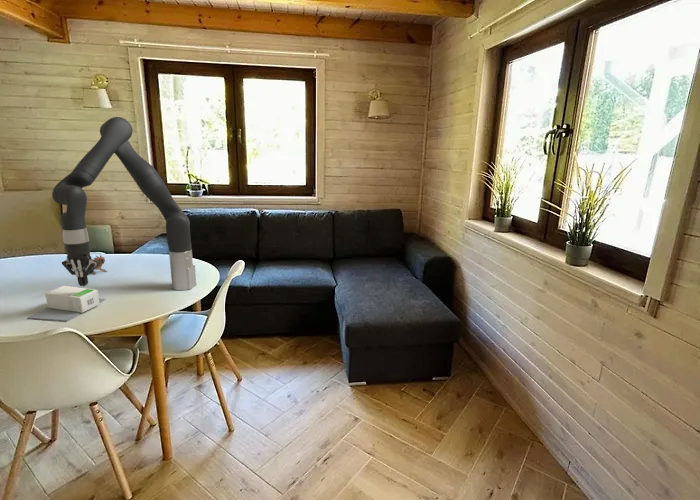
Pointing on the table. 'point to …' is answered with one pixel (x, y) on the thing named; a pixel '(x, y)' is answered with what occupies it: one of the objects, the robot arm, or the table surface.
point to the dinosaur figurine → (99, 263)
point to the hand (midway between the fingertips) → (83, 285)
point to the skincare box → (72, 298)
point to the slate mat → (56, 314)
